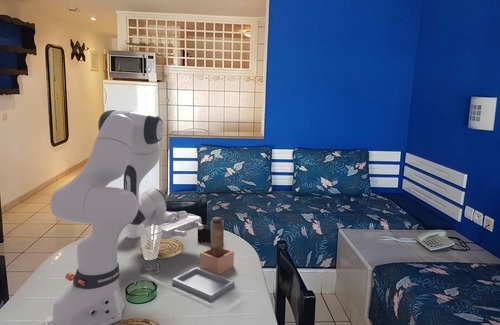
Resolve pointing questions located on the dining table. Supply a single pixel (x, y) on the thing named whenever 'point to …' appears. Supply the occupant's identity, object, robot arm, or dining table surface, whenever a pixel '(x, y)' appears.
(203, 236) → the digital camera
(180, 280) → the tray
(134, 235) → the foam cup
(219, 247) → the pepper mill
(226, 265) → the orange open box
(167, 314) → the dining table surface
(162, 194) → the robot arm
